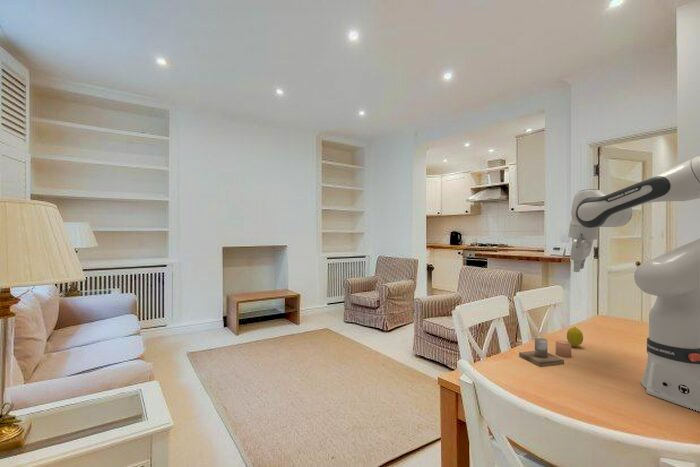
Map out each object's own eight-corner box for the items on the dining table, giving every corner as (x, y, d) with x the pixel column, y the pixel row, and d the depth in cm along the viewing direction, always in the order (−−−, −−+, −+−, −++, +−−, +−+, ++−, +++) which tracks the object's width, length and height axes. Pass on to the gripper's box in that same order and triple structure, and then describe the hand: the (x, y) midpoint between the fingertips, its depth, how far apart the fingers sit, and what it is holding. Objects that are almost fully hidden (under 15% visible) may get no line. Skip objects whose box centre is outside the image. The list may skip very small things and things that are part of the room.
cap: (574, 356, 126) (574, 343, 126) (563, 358, 124) (563, 344, 124) (562, 352, 130) (563, 339, 130) (552, 353, 129) (552, 340, 129)
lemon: (582, 350, 132) (582, 329, 132) (565, 347, 136) (566, 327, 136) (583, 346, 137) (583, 326, 137) (567, 343, 140) (567, 324, 140)
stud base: (564, 364, 119) (564, 342, 119) (540, 366, 116) (540, 345, 116) (541, 353, 129) (541, 334, 128) (519, 356, 126) (519, 336, 126)
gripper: (589, 236, 116) (584, 275, 117) (596, 233, 131) (592, 268, 132) (567, 234, 120) (563, 272, 121) (577, 231, 135) (573, 265, 137)
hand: (578, 270), depth 127 cm, fingers open, 8 cm apart
